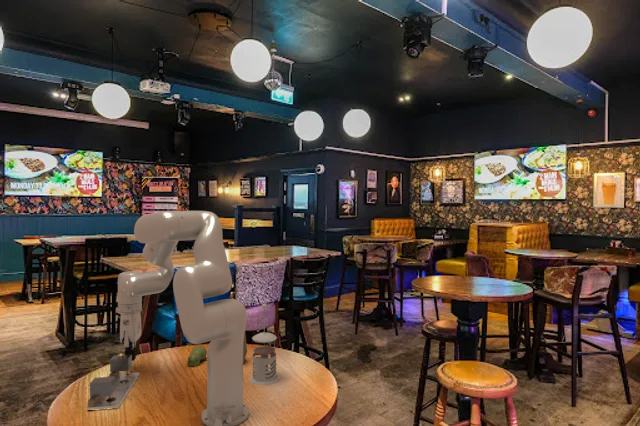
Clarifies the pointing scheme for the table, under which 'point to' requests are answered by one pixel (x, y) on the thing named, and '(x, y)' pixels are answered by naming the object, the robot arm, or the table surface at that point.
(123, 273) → the robot arm
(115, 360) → the grey block with knob
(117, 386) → the bolt plate
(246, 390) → the table surface
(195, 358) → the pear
